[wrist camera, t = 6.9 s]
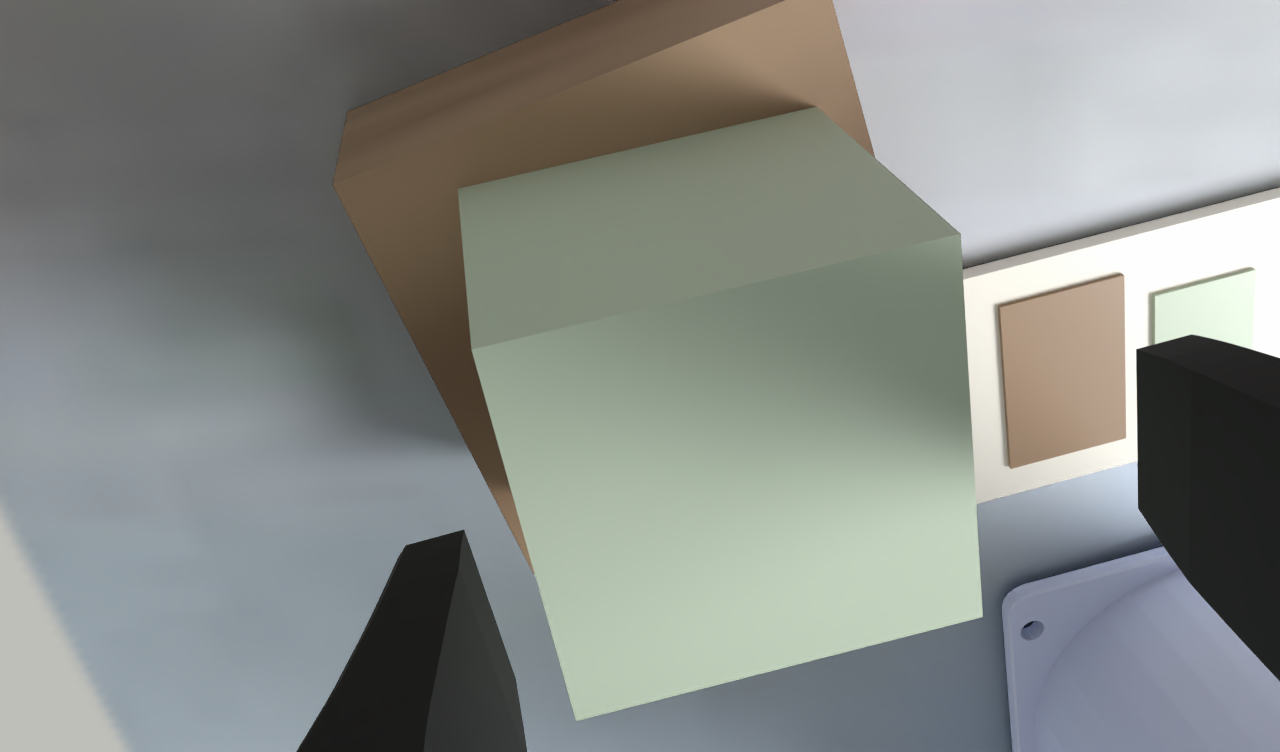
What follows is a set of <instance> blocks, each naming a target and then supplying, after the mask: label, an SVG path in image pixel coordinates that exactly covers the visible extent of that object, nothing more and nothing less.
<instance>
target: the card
mask: <svg viewBox="0 0 1280 752" xmlns="http://www.w3.org/2000/svg"><path fill="white" fill-rule="evenodd" d="M963 284H964V302H965V319H966V336H967V353H968V370H969V388H970V405H971V422H972V439H973V457H974V474H975V491H976V504H979V503H983V502H987V501H990V500H994V499H998V498H1002V497H1005V496H1009V495H1013V494H1016V493H1020V492H1024V491H1028V490H1031V489H1035V488H1039V487H1043V486H1046V485H1050V484H1054V483H1057V482H1061V481H1065V480H1069V479H1072V478H1076V477H1080V476H1084V475H1087V474H1091V473H1095V472H1098V471H1102V470H1106V469H1110V468H1113V467H1117V466H1121V465H1125V464H1128V463H1132V462H1136V461H1138V450H1137V376H1136V349H1139V348H1143V347H1147V346H1150V345H1154V344H1158V343H1161V342H1165V341H1169V340H1173V339H1176V338H1180V337H1184V336H1187V335H1191V334H1192V335H1198V336H1202V337H1207V338H1211V339H1215V340H1219V341H1223V342H1227V343H1231V344H1234V345H1238V346H1242V347H1245V348H1248V349H1252V350H1255V351H1258V352H1262V353H1265V354H1269V355H1272V356H1275V357H1278V358H1280V187H1279V188H1275V189H1272V190H1268V191H1264V192H1260V193H1256V194H1252V195H1248V196H1245V197H1241V198H1237V199H1233V200H1229V201H1225V202H1221V203H1217V204H1214V205H1210V206H1206V207H1202V208H1198V209H1194V210H1190V211H1187V212H1183V213H1179V214H1175V215H1171V216H1167V217H1163V218H1159V219H1156V220H1152V221H1148V222H1144V223H1140V224H1136V225H1132V226H1129V227H1125V228H1121V229H1117V230H1113V231H1109V232H1105V233H1102V234H1098V235H1094V236H1090V237H1086V238H1082V239H1078V240H1074V241H1071V242H1067V243H1063V244H1059V245H1055V246H1051V247H1047V248H1044V249H1040V250H1036V251H1032V252H1028V253H1024V254H1020V255H1016V256H1013V257H1009V258H1005V259H1001V260H997V261H993V262H989V263H986V264H982V265H978V266H974V267H970V268H966V269H963Z"/></svg>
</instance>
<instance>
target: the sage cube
mask: <svg viewBox="0 0 1280 752" xmlns="http://www.w3.org/2000/svg"><path fill="white" fill-rule="evenodd" d="M458 199H459V210H460V222H461V234H462V245H463V257H464V269H465V280H466V292H467V304H468V315H469V327H470V338H471V350H472V353H473V357H474V361H475V364H476V368H477V371H478V375H479V378H480V382H481V385H482V389H483V392H484V396H485V400H486V403H487V407H488V410H489V414H490V417H491V421H492V424H493V428H494V432H495V435H496V439H497V442H498V446H499V449H500V453H501V456H502V460H503V463H504V467H505V471H506V474H507V478H508V481H509V485H510V488H511V492H512V495H513V499H514V503H515V506H516V510H517V513H518V517H519V520H520V524H521V527H522V531H523V534H524V538H525V542H526V545H527V549H528V552H529V556H530V559H531V563H532V566H533V570H534V574H535V577H536V581H537V584H538V588H539V591H540V595H541V598H542V602H543V605H544V609H545V613H546V616H547V620H548V623H549V627H550V630H551V634H552V637H553V641H554V645H555V648H556V652H557V655H558V659H559V662H560V666H561V669H562V673H563V676H564V680H565V684H566V687H567V691H568V694H569V698H570V701H571V705H572V708H573V712H574V716H575V719H576V721H579V720H583V719H587V718H591V717H595V716H599V715H602V714H606V713H610V712H614V711H618V710H622V709H626V708H630V707H634V706H638V705H641V704H645V703H649V702H653V701H657V700H661V699H665V698H669V697H673V696H677V695H681V694H684V693H688V692H692V691H696V690H700V689H704V688H708V687H712V686H716V685H720V684H723V683H727V682H731V681H735V680H739V679H743V678H747V677H751V676H755V675H759V674H762V673H766V672H770V671H774V670H778V669H782V668H786V667H790V666H794V665H798V664H801V663H805V662H809V661H813V660H817V659H821V658H825V657H829V656H833V655H837V654H841V653H844V652H848V651H852V650H856V649H860V648H864V647H868V646H872V645H876V644H880V643H883V642H887V641H891V640H895V639H899V638H903V637H907V636H911V635H915V634H919V633H922V632H926V631H930V630H934V629H938V628H942V627H946V626H950V625H954V624H958V623H962V622H965V621H969V620H973V619H977V618H981V617H983V611H982V594H981V577H980V560H979V543H978V525H977V508H976V491H975V474H974V457H973V439H972V422H971V405H970V388H969V370H968V353H967V336H966V319H965V302H964V284H963V267H962V250H961V234H960V233H959V232H958V231H957V230H956V229H955V228H953V227H952V226H951V225H950V224H949V223H948V222H947V221H946V220H944V219H943V218H942V217H941V216H940V215H939V214H938V213H936V212H935V211H934V210H933V209H932V208H931V207H930V206H929V205H927V204H926V203H925V202H924V201H923V200H922V199H921V198H920V197H918V196H917V195H916V194H915V193H914V192H913V191H912V190H910V189H909V188H908V187H907V186H906V185H905V184H904V183H903V182H901V181H900V180H899V179H898V178H897V177H896V176H895V175H894V174H892V173H891V172H890V171H889V170H888V169H887V168H886V167H884V166H883V165H882V164H881V163H880V162H879V161H878V160H877V159H875V158H874V157H873V156H872V155H871V154H870V153H869V152H868V151H866V150H865V149H864V148H863V147H862V146H861V145H860V144H858V143H857V142H856V141H855V140H854V139H853V138H852V137H851V136H849V135H848V134H847V133H846V132H845V131H844V130H843V129H842V128H840V127H839V126H838V125H837V124H836V123H835V122H834V121H832V120H831V119H830V118H829V117H828V116H827V115H826V114H825V113H823V112H822V111H821V110H820V109H819V108H818V107H812V108H808V109H803V110H799V111H795V112H790V113H786V114H782V115H777V116H773V117H769V118H764V119H760V120H755V121H751V122H747V123H742V124H738V125H734V126H729V127H725V128H721V129H716V130H712V131H707V132H703V133H699V134H694V135H690V136H686V137H681V138H677V139H673V140H668V141H664V142H659V143H655V144H651V145H646V146H642V147H638V148H633V149H629V150H625V151H620V152H616V153H611V154H607V155H603V156H598V157H594V158H590V159H585V160H581V161H577V162H572V163H568V164H564V165H559V166H555V167H550V168H546V169H542V170H537V171H533V172H529V173H524V174H520V175H516V176H511V177H507V178H502V179H498V180H494V181H489V182H485V183H481V184H476V185H472V186H468V187H463V188H459V189H458Z"/></svg>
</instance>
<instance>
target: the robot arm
mask: <svg viewBox="0 0 1280 752" xmlns="http://www.w3.org/2000/svg"><path fill="white" fill-rule="evenodd" d="M1136 376H1137V450H1138V509H1139V510H1140V512H1141V513H1142V515H1143V516H1144V518H1145V519H1146V521H1147V522H1148V524H1149V525H1150V527H1151V528H1152V530H1153V531H1154V533H1155V534H1156V536H1157V537H1158V539H1159V540H1160V542H1161V543H1162V545H1163V547H1159V548H1155V549H1152V550H1148V551H1144V552H1141V553H1137V554H1133V555H1130V556H1126V557H1122V558H1119V559H1115V560H1111V561H1108V562H1104V563H1100V564H1097V565H1093V566H1089V567H1086V568H1082V569H1078V570H1074V571H1071V572H1067V573H1063V574H1060V575H1056V576H1052V577H1049V578H1045V579H1041V580H1038V581H1034V582H1030V583H1027V584H1023V585H1021V586H1018V587H1016V588H1014V589H1013V590H1012V591H1011V592H1009V593H1008V594H1007V596H1006V597H1005V599H1004V601H1003V604H1002V618H1003V631H1004V645H1005V658H1006V671H1007V684H1008V698H1009V711H1010V724H1011V737H1012V751H1013V752H1280V358H1278V357H1275V356H1272V355H1269V354H1265V353H1262V352H1258V351H1255V350H1252V349H1248V348H1245V347H1242V346H1238V345H1234V344H1231V343H1227V342H1223V341H1219V340H1215V339H1211V338H1207V337H1202V336H1198V335H1192V334H1191V335H1187V336H1184V337H1180V338H1176V339H1173V340H1169V341H1165V342H1161V343H1158V344H1154V345H1150V346H1147V347H1143V348H1139V349H1136ZM1031 621H1034V622H1033V624H1032V625H1031V626H1029V627H1027V628H1024V629H1022V628H1023V627H1024V626H1025V624H1027V623H1029V622H1031ZM297 752H527V748H526V742H525V735H524V728H523V722H522V716H521V709H520V703H519V697H518V691H517V685H516V679H515V676H514V673H513V670H512V667H511V664H510V661H509V659H508V656H507V653H506V650H505V647H504V644H503V641H502V638H501V635H500V632H499V630H498V627H497V624H496V621H495V618H494V615H493V612H492V609H491V606H490V604H489V601H488V598H487V595H486V592H485V589H484V586H483V583H482V580H481V578H480V575H479V572H478V569H477V566H476V563H475V560H474V557H473V554H472V551H471V549H470V546H469V543H468V540H467V537H466V534H465V531H464V530H461V531H458V532H454V533H450V534H446V535H443V536H439V537H435V538H432V539H428V540H424V541H420V542H417V543H413V544H409V545H406V546H405V548H404V549H403V551H402V552H401V554H400V556H399V557H398V559H397V561H396V564H395V566H394V568H393V570H392V572H391V575H390V577H389V579H388V581H387V583H386V586H385V588H384V590H383V592H382V594H381V596H380V599H379V601H378V603H377V605H376V607H375V609H374V611H373V613H372V615H371V617H370V620H369V622H368V624H367V626H366V628H365V630H364V632H363V634H362V636H361V638H360V640H359V642H358V644H357V646H356V648H355V649H354V651H353V653H352V655H351V657H350V659H349V661H348V663H347V665H346V667H345V668H344V670H343V672H342V674H341V676H340V678H339V680H338V682H337V684H336V686H335V687H334V689H333V691H332V693H331V695H330V696H329V698H328V700H327V702H326V703H325V705H324V707H323V708H322V710H321V712H320V713H319V715H318V717H317V718H316V720H315V722H314V723H313V725H312V727H311V728H310V730H309V732H308V733H307V735H306V737H305V738H304V740H303V742H302V743H301V745H300V747H299V748H298V750H297Z"/></svg>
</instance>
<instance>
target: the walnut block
mask: <svg viewBox="0 0 1280 752" xmlns="http://www.w3.org/2000/svg"><path fill="white" fill-rule="evenodd" d="M812 107H818V108H819V109H820V110H821V111H822V112H823V113H825V114H826V115H827V116H828V117H829V118H830V119H831V120H832V121H834V122H835V123H836V124H837V125H838V126H839V127H840V128H842V129H843V130H844V131H845V132H846V133H847V134H848V135H849V136H851V137H852V138H853V139H854V140H855V141H856V142H857V143H858V144H860V145H861V146H862V147H863V148H864V149H865V150H866V151H868V152H869V153H870V154H871V155H872V156H873V157H874V158H875V156H874V152H873V148H872V145H871V141H870V137H869V134H868V130H867V126H866V123H865V119H864V115H863V112H862V108H861V104H860V101H859V97H858V93H857V90H856V86H855V82H854V79H853V75H852V71H851V68H850V64H849V60H848V57H847V53H846V49H845V46H844V42H843V38H842V35H841V31H840V27H839V24H838V20H837V16H836V12H835V9H834V5H833V1H832V0H619V1H616V2H614V3H612V4H609V5H607V6H604V7H602V8H599V9H597V10H594V11H592V12H590V13H587V14H585V15H582V16H580V17H577V18H575V19H572V20H570V21H568V22H565V23H563V24H560V25H558V26H555V27H553V28H550V29H548V30H546V31H543V32H541V33H538V34H536V35H533V36H531V37H528V38H526V39H523V40H521V41H519V42H516V43H514V44H511V45H509V46H506V47H504V48H501V49H499V50H497V51H494V52H492V53H489V54H487V55H484V56H482V57H479V58H477V59H475V60H472V61H470V62H467V63H465V64H462V65H460V66H457V67H455V68H453V69H450V70H448V71H445V72H443V73H440V74H438V75H435V76H433V77H431V78H428V79H426V80H423V81H421V82H418V83H416V84H413V85H411V86H408V87H406V88H404V89H401V90H399V91H396V92H394V93H391V94H389V95H386V96H384V97H382V98H379V99H377V100H374V101H372V102H369V103H367V104H364V105H362V106H360V107H357V108H355V109H352V110H350V111H347V116H346V121H345V126H344V131H343V136H342V141H341V145H340V150H339V155H338V160H337V165H336V170H335V175H334V180H333V187H334V189H335V191H336V193H337V195H338V197H339V199H340V201H341V203H342V204H343V206H344V208H345V210H346V212H347V214H348V216H349V218H350V220H351V222H352V224H353V226H354V228H355V230H356V232H357V233H358V235H359V237H360V239H361V241H362V243H363V245H364V247H365V249H366V251H367V253H368V255H369V257H370V259H371V261H372V262H373V264H374V266H375V268H376V270H377V272H378V274H379V276H380V278H381V280H382V282H383V284H384V286H385V288H386V290H387V292H388V293H389V295H390V297H391V299H392V301H393V303H394V305H395V307H396V309H397V311H398V313H399V315H400V317H401V319H402V321H403V322H404V324H405V326H406V328H407V330H408V332H409V334H410V336H411V338H412V340H413V342H414V344H415V346H416V348H417V350H418V351H419V353H420V355H421V357H422V359H423V361H424V363H425V365H426V367H427V369H428V371H429V373H430V375H431V377H432V379H433V380H434V382H435V384H436V386H437V388H438V390H439V392H440V394H441V396H442V398H443V400H444V402H445V404H446V406H447V408H448V409H449V411H450V413H451V415H452V417H453V419H454V421H455V423H456V425H457V427H458V429H459V431H460V433H461V435H462V437H463V439H464V440H465V442H466V444H467V446H468V448H469V450H470V452H471V454H472V456H473V458H474V460H475V462H476V464H477V466H478V468H479V469H480V471H481V473H482V475H483V477H484V479H485V481H486V483H487V485H488V487H489V489H490V491H491V493H492V495H493V497H494V498H495V500H496V502H497V504H498V506H499V508H500V510H501V512H502V514H503V516H504V518H505V520H506V522H507V524H508V526H509V527H510V529H511V531H512V533H513V535H514V537H515V539H516V541H517V543H518V545H519V547H520V549H521V551H522V553H523V555H524V556H525V558H526V560H527V562H528V564H529V566H530V568H531V570H532V572H533V574H534V570H533V566H532V563H531V559H530V556H529V552H528V549H527V545H526V542H525V538H524V534H523V531H522V527H521V524H520V520H519V517H518V513H517V510H516V506H515V503H514V499H513V495H512V492H511V488H510V485H509V481H508V478H507V474H506V471H505V467H504V463H503V460H502V456H501V453H500V449H499V446H498V442H497V439H496V435H495V432H494V428H493V424H492V421H491V417H490V414H489V410H488V407H487V403H486V400H485V396H484V392H483V389H482V385H481V382H480V378H479V375H478V371H477V368H476V364H475V361H474V357H473V353H472V350H471V338H470V327H469V315H468V304H467V292H466V280H465V269H464V257H463V245H462V234H461V222H460V210H459V199H458V189H459V188H463V187H468V186H472V185H476V184H481V183H485V182H489V181H494V180H498V179H502V178H507V177H511V176H516V175H520V174H524V173H529V172H533V171H537V170H542V169H546V168H550V167H555V166H559V165H564V164H568V163H572V162H577V161H581V160H585V159H590V158H594V157H598V156H603V155H607V154H611V153H616V152H620V151H625V150H629V149H633V148H638V147H642V146H646V145H651V144H655V143H659V142H664V141H668V140H673V139H677V138H681V137H686V136H690V135H694V134H699V133H703V132H707V131H712V130H716V129H721V128H725V127H729V126H734V125H738V124H742V123H747V122H751V121H755V120H760V119H764V118H769V117H773V116H777V115H782V114H786V113H790V112H795V111H799V110H803V109H808V108H812ZM534 575H535V574H534Z"/></svg>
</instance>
